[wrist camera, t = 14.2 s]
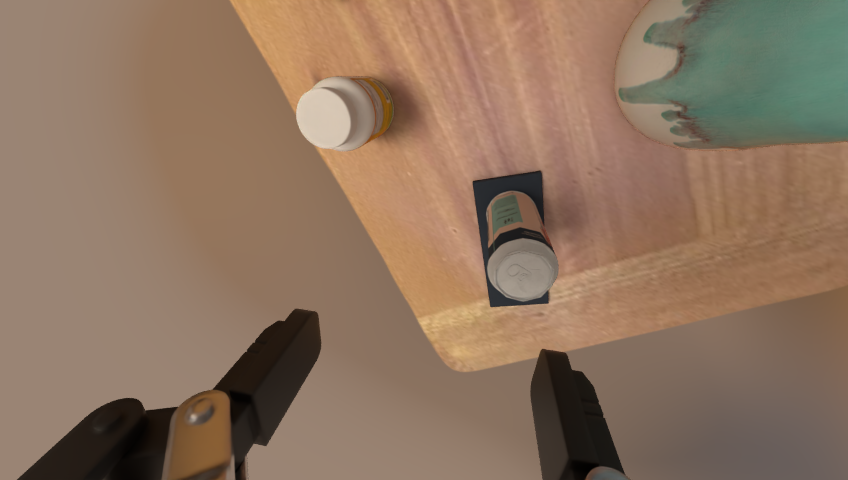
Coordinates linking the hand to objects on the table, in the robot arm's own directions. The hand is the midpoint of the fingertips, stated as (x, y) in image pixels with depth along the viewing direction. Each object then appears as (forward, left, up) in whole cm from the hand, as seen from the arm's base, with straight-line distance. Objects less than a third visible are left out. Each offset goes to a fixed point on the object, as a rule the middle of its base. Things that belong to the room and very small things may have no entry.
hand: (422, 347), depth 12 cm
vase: (-6, +18, -24) cm, 30 cm away
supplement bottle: (-8, -8, -24) cm, 26 cm away
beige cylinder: (+4, +4, -23) cm, 24 cm away
